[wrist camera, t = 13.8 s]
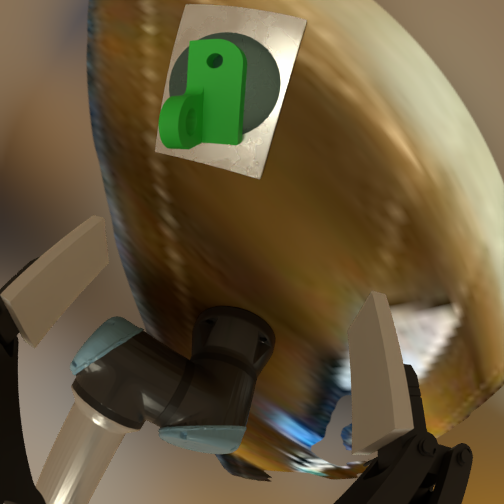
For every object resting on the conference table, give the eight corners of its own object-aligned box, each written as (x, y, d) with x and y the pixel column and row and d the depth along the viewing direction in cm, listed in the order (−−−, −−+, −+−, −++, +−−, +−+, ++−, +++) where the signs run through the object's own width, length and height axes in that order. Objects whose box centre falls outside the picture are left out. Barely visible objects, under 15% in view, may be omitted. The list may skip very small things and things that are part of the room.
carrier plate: (261, 176, 32) (259, 180, 31) (159, 149, 33) (154, 152, 31) (307, 22, 21) (306, 19, 20) (190, 6, 21) (185, 3, 20)
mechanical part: (241, 142, 29) (220, 158, 22) (192, 138, 30) (159, 154, 23) (249, 41, 22) (228, 25, 16) (196, 43, 23) (162, 32, 17)
